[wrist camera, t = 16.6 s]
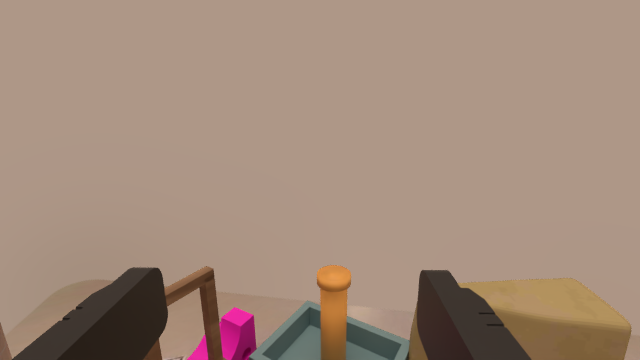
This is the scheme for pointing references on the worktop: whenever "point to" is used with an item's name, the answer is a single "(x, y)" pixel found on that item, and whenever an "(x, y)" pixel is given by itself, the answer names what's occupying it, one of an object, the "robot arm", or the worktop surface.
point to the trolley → (209, 309)
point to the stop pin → (333, 310)
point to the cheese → (550, 320)
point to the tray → (305, 340)
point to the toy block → (232, 337)
